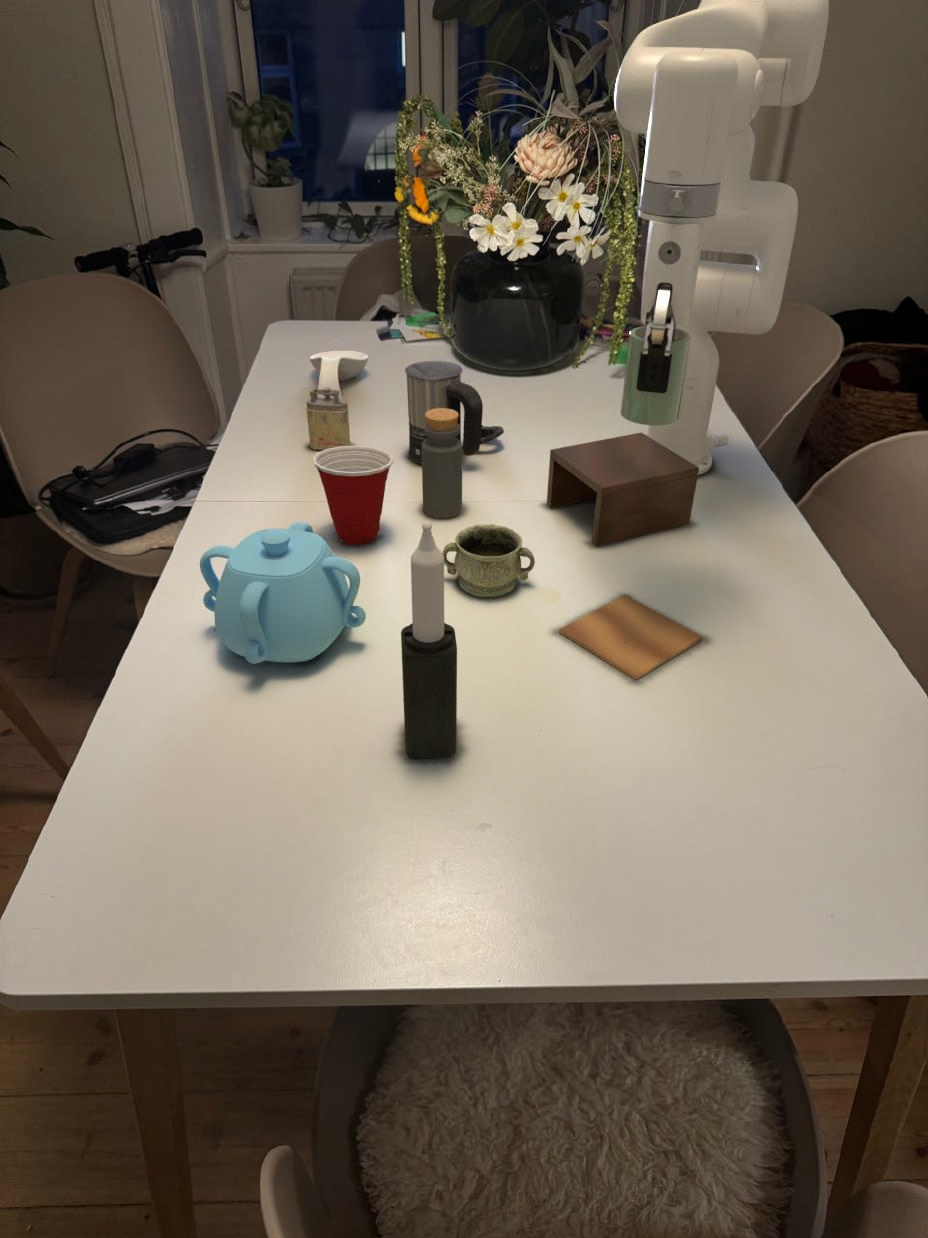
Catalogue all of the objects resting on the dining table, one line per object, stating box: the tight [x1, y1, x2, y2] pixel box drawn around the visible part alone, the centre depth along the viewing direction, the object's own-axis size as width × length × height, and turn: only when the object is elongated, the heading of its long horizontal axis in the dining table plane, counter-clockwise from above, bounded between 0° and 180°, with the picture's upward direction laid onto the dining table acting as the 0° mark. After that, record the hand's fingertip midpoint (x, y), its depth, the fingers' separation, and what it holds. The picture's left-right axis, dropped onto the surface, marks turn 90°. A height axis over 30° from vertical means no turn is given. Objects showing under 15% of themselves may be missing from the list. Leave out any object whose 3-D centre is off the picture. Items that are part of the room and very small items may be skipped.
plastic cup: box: [312, 445, 394, 546], centre depth 121 cm, size 11×11×12 cm
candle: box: [400, 521, 458, 760], centre depth 82 cm, size 5×5×25 cm
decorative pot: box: [199, 521, 367, 664], centre depth 100 cm, size 16×16×14 cm
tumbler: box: [620, 325, 691, 426], centre depth 96 cm, size 6×6×9 cm
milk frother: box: [404, 360, 505, 465], centre depth 145 cm, size 14×16×15 cm
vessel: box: [441, 524, 536, 598], centre depth 113 cm, size 12×9×6 cm
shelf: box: [546, 432, 699, 547], centre depth 128 cm, size 16×14×9 cm
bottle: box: [421, 408, 463, 520], centre depth 127 cm, size 6×6×15 cm
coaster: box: [558, 594, 703, 681], centre depth 105 cm, size 12×12×1 cm
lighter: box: [306, 387, 352, 451], centre depth 147 cm, size 7×4×10 cm, turn 82°
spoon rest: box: [309, 350, 369, 399], centre depth 173 cm, size 24×12×7 cm, turn 1°
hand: (654, 379), depth 96 cm, fingers closed on tumbler, 6 cm apart
